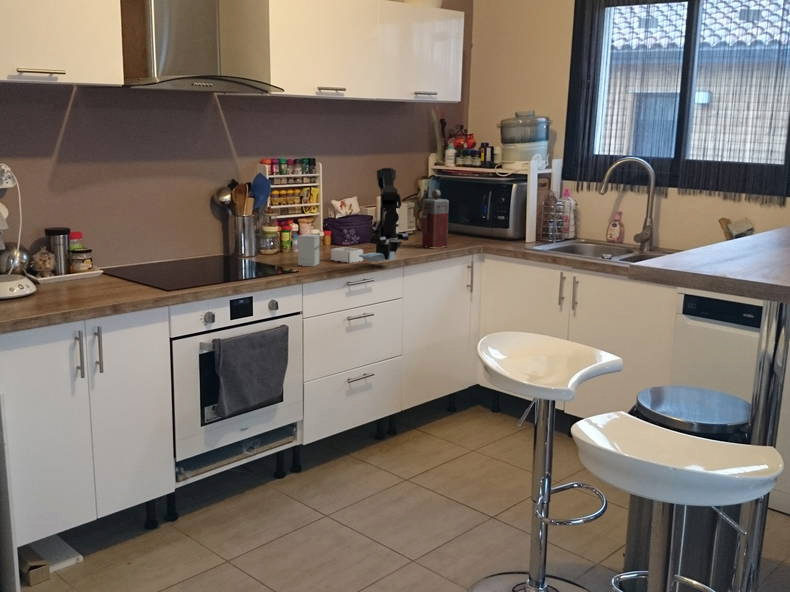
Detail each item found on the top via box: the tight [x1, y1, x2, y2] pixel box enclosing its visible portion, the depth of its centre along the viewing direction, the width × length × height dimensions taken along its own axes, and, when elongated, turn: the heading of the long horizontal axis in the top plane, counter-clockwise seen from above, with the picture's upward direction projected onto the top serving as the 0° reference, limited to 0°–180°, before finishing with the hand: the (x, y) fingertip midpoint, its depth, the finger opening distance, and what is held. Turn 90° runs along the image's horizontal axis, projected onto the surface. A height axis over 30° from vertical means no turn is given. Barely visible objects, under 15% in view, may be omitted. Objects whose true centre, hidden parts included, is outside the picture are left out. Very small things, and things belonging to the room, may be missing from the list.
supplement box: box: [297, 233, 320, 267], centre depth 334 cm, size 7×7×13 cm
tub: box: [330, 246, 364, 264], centre depth 347 cm, size 11×9×5 cm
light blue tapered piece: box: [359, 251, 396, 262], centre depth 335 cm, size 14×9×4 cm, turn 50°
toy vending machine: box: [420, 189, 450, 247], centre depth 387 cm, size 9×11×28 cm
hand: (389, 259), depth 331 cm, fingers closed on light blue tapered piece, 3 cm apart
